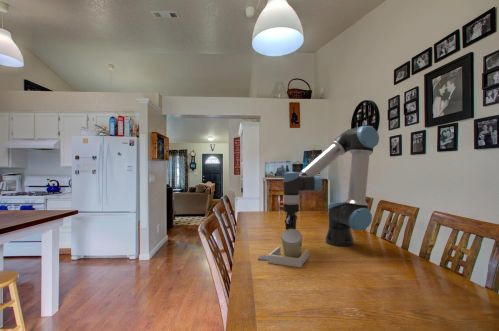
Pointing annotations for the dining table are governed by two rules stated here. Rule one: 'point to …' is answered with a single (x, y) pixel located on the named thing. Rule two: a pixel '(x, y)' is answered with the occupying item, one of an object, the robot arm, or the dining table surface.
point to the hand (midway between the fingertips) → (290, 251)
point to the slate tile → (263, 258)
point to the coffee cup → (292, 243)
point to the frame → (287, 258)
